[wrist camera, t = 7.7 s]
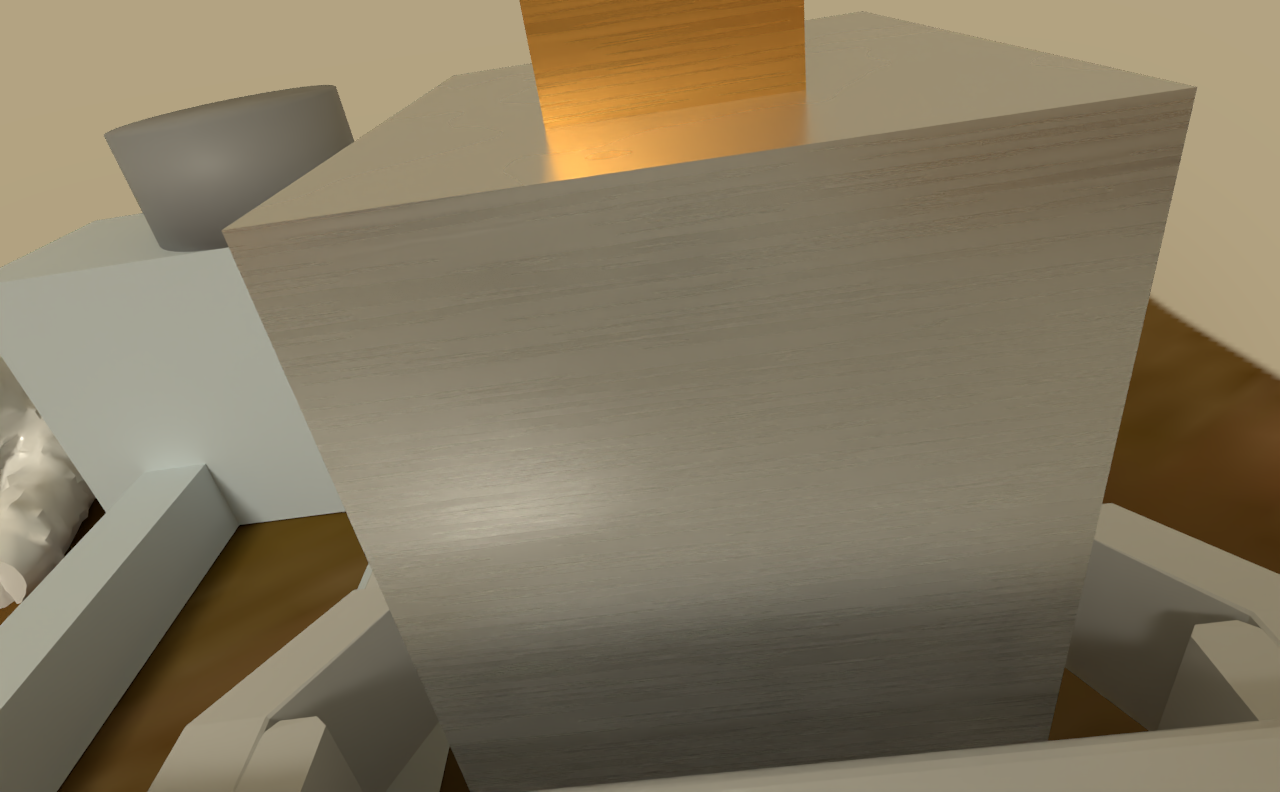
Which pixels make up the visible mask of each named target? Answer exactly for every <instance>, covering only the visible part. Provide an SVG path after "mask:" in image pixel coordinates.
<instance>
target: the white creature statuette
mask: <svg viewBox="0 0 1280 792" xmlns="http://www.w3.org/2000/svg"><path fill="white" fill-rule="evenodd" d="M95 498H96V497H95V495H94V494H93V492H92V491H91V489H90V488H89V486H88V485H87V483H86V482H85V480H84V479H83V477H82V476H81V475H80V473H79V472H78V470H77V469H76V467H75V466H74V464H73V463H72V461H71V460H70V458H69V457H68V455H67V454H66V452H65V451H64V449H63V448H62V446H61V445H60V443H59V442H58V440H57V439H56V437H55V436H54V434H53V433H52V431H51V430H50V428H49V427H48V425H47V424H46V422H45V421H44V419H43V418H42V416H41V415H40V413H39V412H38V410H37V409H36V408H35V406H34V405H33V403H32V402H31V400H30V399H29V397H28V396H27V394H26V393H25V391H24V390H23V388H22V387H21V385H20V384H19V382H18V381H17V379H16V378H15V376H14V375H13V373H12V372H11V370H10V369H9V367H8V366H7V364H6V363H5V361H4V360H3V358H2V357H1V355H0V609H1V608H4V607H6V606H8V605H9V604H11V603H12V602H14V601H15V602H16V603H17V604H19V603H22V602H23V601H24V600H25V599H26V598H27V597H28V596H29V594H30V593H31V592H32V591H33V590H34V589H35V588H36V587H37V586H38V585H39V584H40V583H41V582H42V581H43V580H44V579H45V577H46V576H47V575H48V574H49V573H50V572H51V571H52V570H53V569H54V568H55V567H56V566H57V565H58V564H59V563H60V561H61V560H62V559H63V558H64V554H65V552H66V551H67V550H68V548H69V547H70V545H71V543H72V541H73V539H74V537H75V535H76V533H77V531H78V529H79V527H80V525H81V523H82V522H83V521H84V520H85V519H86V518H87V517H88V510H89V508H90V507H91V505H92V503H93V501H94V500H95Z"/></svg>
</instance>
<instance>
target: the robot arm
mask: <svg viewBox="0 0 1280 792" xmlns="http://www.w3.org/2000/svg"><path fill="white" fill-rule="evenodd" d="M1065 668H1066V669H1068V670H1069V671H1070V672H1072V673H1073V674H1074V675H1076V676H1077V677H1078V678H1080V679H1081V680H1082V681H1084V682H1085V683H1086V684H1088V685H1089V686H1090V687H1092V688H1093V689H1094V690H1096V691H1097V692H1098V693H1100V694H1101V695H1102V696H1104V697H1105V698H1106V699H1108V700H1109V701H1110V702H1112V703H1113V704H1114V705H1115V706H1117V707H1118V708H1119V709H1121V710H1122V711H1123V712H1125V713H1126V714H1127V715H1129V716H1130V717H1131V718H1133V719H1134V720H1135V721H1137V722H1138V723H1139V724H1141V725H1142V726H1143V727H1145V728H1146V729H1147V730H1149V731H1147V732H1137V733H1126V734H1116V735H1105V736H1095V737H1085V738H1074V739H1064V740H1054V741H1043V742H1033V743H1023V744H1012V745H1002V746H992V747H981V748H971V749H961V750H950V751H940V752H930V753H919V754H909V755H899V756H888V757H878V758H867V759H857V760H847V761H836V762H826V763H816V764H805V765H795V766H785V767H775V768H764V769H754V770H744V771H733V772H723V773H713V774H702V775H692V776H682V777H671V778H661V779H651V780H640V781H630V782H620V783H609V784H599V785H589V786H578V787H568V788H558V789H547V790H537V791H527V792H1280V574H1277V573H1275V572H1273V571H1270V570H1268V569H1265V568H1263V567H1261V566H1258V565H1256V564H1254V563H1251V562H1249V561H1247V560H1244V559H1242V558H1240V557H1237V556H1235V555H1233V554H1230V553H1228V552H1226V551H1223V550H1221V549H1219V548H1216V547H1214V546H1211V545H1209V544H1207V543H1204V542H1202V541H1200V540H1197V539H1195V538H1193V537H1190V536H1188V535H1186V534H1183V533H1181V532H1179V531H1176V530H1174V529H1172V528H1169V527H1167V526H1165V525H1162V524H1160V523H1158V522H1155V521H1153V520H1150V519H1148V518H1146V517H1143V516H1141V515H1139V514H1136V513H1134V512H1132V511H1129V510H1127V509H1125V508H1122V507H1120V506H1118V505H1115V504H1113V503H1108V504H1102V506H1101V510H1100V514H1099V519H1098V523H1097V528H1096V532H1095V536H1094V541H1093V545H1092V549H1091V554H1090V558H1089V563H1088V567H1087V571H1086V576H1085V580H1084V584H1083V589H1082V593H1081V598H1080V602H1079V606H1078V611H1077V615H1076V619H1075V624H1074V628H1073V632H1072V637H1071V641H1070V646H1069V650H1068V654H1067V659H1066V663H1065ZM438 722H439V720H438V718H437V716H436V713H435V711H434V709H433V707H432V704H431V702H430V700H429V698H428V695H427V693H426V691H425V689H424V686H423V684H422V682H421V680H420V677H419V675H418V673H417V671H416V668H415V666H414V664H413V662H412V659H411V657H410V655H409V653H408V650H407V648H406V646H405V643H404V641H403V639H402V637H401V634H400V632H399V630H398V628H397V625H396V623H395V621H394V619H393V616H392V614H391V612H390V610H389V607H388V605H387V603H386V601H385V598H384V596H383V594H382V592H381V589H380V587H379V585H378V583H377V580H376V578H375V576H374V574H373V571H372V573H371V575H370V577H369V580H368V582H367V585H366V587H365V589H359V590H353V591H352V592H351V593H349V594H348V595H347V596H346V597H345V598H343V599H342V600H341V601H340V602H338V603H337V604H336V605H335V606H333V607H332V608H331V609H330V610H329V611H327V612H326V613H325V614H324V615H322V616H321V617H320V618H319V619H317V620H316V621H315V622H314V623H312V624H311V625H310V626H309V627H308V628H306V629H305V630H304V631H303V632H301V633H300V634H299V635H298V636H296V637H295V638H294V639H293V640H292V641H290V642H289V643H288V644H287V645H285V646H284V647H283V648H282V649H280V650H279V651H278V652H277V653H276V654H274V655H273V656H272V657H271V658H269V659H268V660H267V661H266V662H264V663H263V664H262V665H261V666H260V667H258V668H257V669H256V670H255V671H253V672H252V673H251V674H250V675H248V676H247V677H246V678H245V679H244V680H242V681H241V682H240V683H239V684H237V685H236V686H235V687H234V688H232V689H231V690H230V691H229V692H227V693H226V694H225V695H224V696H223V697H221V698H220V699H219V700H218V701H216V702H215V703H214V704H213V705H211V706H210V707H209V708H208V709H207V710H205V711H204V712H203V713H202V714H200V715H199V716H198V717H197V718H195V719H194V720H193V721H192V722H191V723H189V724H188V725H187V726H186V727H185V728H184V730H183V732H182V733H181V735H180V737H179V738H178V740H177V742H176V744H175V745H174V747H173V749H172V751H171V752H170V754H169V756H168V757H167V759H166V761H165V763H164V764H163V766H162V768H161V769H160V771H159V773H158V775H157V776H156V778H155V780H154V782H153V783H152V785H151V787H150V788H149V790H148V792H386V791H387V789H388V788H389V787H390V785H391V784H392V783H393V781H394V780H395V779H396V777H397V776H398V775H399V773H400V772H401V771H402V770H403V768H404V767H405V766H406V764H407V763H408V762H409V760H410V759H411V758H412V756H413V755H414V754H415V752H416V751H417V750H418V749H419V747H420V746H421V745H422V743H423V742H424V741H425V739H426V738H427V737H428V735H429V734H430V733H431V731H432V730H433V729H434V728H435V726H436V725H437V724H438Z"/></svg>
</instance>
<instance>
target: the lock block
mask: <svg viewBox="0 0 1280 792" xmlns="http://www.w3.org/2000/svg"><path fill="white" fill-rule="evenodd" d="M520 5H521V10H522V15H523V20H524V25H525V30H526V35H527V39H528V45H529V50H530V55H531V60H532V63H531V64H524V65H518V66H512V67H505V68H499V69H493V70H487V71H480V72H474V73H467V74H461V75H454V76H452V77H450V78H449V79H447V80H446V81H444V82H443V83H441V84H440V85H438V86H437V87H435V88H434V89H432V90H431V91H429V92H428V93H426V94H425V95H423V96H422V97H420V98H419V99H417V100H416V101H414V102H413V103H411V104H410V105H408V106H407V107H405V108H404V109H402V110H401V111H399V112H398V113H396V114H395V115H393V116H392V117H390V118H389V119H387V120H386V121H384V122H383V123H381V124H380V125H379V126H377V127H375V128H374V129H372V130H371V131H370V132H368V133H367V134H365V135H363V136H362V137H360V138H359V139H358V140H356V141H354V142H353V143H351V144H350V145H348V146H347V147H345V148H344V149H342V150H341V151H340V152H338V153H337V154H335V155H334V156H332V157H331V158H329V159H328V160H326V161H325V162H323V163H322V164H320V165H319V166H317V167H316V168H314V169H313V170H311V171H310V172H308V173H307V174H305V175H304V176H302V177H301V178H299V179H298V180H296V181H295V182H293V183H292V184H290V185H289V186H287V187H286V188H284V189H283V190H281V191H280V192H278V193H277V194H275V195H274V196H272V197H271V198H269V199H268V200H266V201H265V202H263V203H262V204H260V205H259V206H257V207H256V208H254V209H253V210H251V211H250V212H248V213H247V214H245V215H244V216H242V217H241V218H239V219H238V220H236V221H235V222H233V223H232V224H230V225H229V226H227V227H226V228H224V229H223V230H221V231H222V233H223V235H224V238H225V240H226V242H227V244H228V247H229V249H230V251H231V253H232V256H233V258H234V260H235V262H236V265H237V267H238V269H239V271H240V274H241V276H242V278H243V280H244V283H245V285H246V287H247V289H248V292H249V294H250V296H251V298H252V301H253V303H254V305H255V307H256V310H257V312H258V314H259V316H260V319H261V321H262V323H263V325H264V328H265V330H266V332H267V335H268V337H269V339H270V341H271V344H272V346H273V348H274V350H275V353H276V355H277V357H278V359H279V362H280V364H281V366H282V368H283V371H284V373H285V375H286V377H287V380H288V382H289V384H290V386H291V389H292V391H293V393H294V395H295V398H296V400H297V402H298V404H299V407H300V409H301V411H302V413H303V416H304V418H305V420H306V422H307V425H308V427H309V429H310V431H311V434H312V436H313V438H314V441H315V443H316V445H317V447H318V450H319V452H320V454H321V456H322V459H323V461H324V463H325V465H326V468H327V470H328V472H329V474H330V477H331V479H332V481H333V483H334V486H335V488H336V490H337V492H338V495H339V497H340V499H341V501H342V504H343V506H344V508H345V510H346V513H347V515H348V517H349V519H350V522H351V524H352V526H353V528H354V531H355V533H356V535H357V537H358V540H359V542H360V544H361V547H362V549H363V551H364V553H365V556H366V558H367V560H368V562H369V565H370V567H371V569H372V571H373V574H374V576H375V578H376V580H377V583H378V585H379V587H380V589H381V592H382V594H383V596H384V598H385V601H386V603H387V605H388V607H389V610H390V612H391V614H392V616H393V619H394V621H395V623H396V625H397V628H398V630H399V632H400V634H401V637H402V639H403V641H404V643H405V646H406V648H407V650H408V653H409V655H410V657H411V659H412V662H413V664H414V666H415V668H416V671H417V673H418V675H419V677H420V680H421V682H422V684H423V686H424V689H425V691H426V693H427V695H428V698H429V700H430V702H431V704H432V707H433V709H434V711H435V713H436V716H437V718H438V720H439V722H440V725H441V727H442V729H443V731H444V734H445V736H446V738H447V740H448V743H449V745H450V747H451V749H452V752H453V754H454V756H455V759H456V761H457V763H458V765H459V768H460V770H461V772H462V774H463V777H464V779H465V781H466V783H467V786H468V788H469V790H470V792H527V791H537V790H547V789H558V788H568V787H578V786H589V785H599V784H609V783H620V782H630V781H640V780H651V779H661V778H671V777H682V776H692V775H702V774H713V773H723V772H733V771H744V770H754V769H764V768H775V767H785V766H795V765H805V764H816V763H826V762H836V761H847V760H857V759H867V758H878V757H888V756H899V755H909V754H919V753H930V752H940V751H950V750H961V749H971V748H981V747H992V746H1002V745H1012V744H1023V743H1033V742H1043V741H1048V737H1049V733H1050V729H1051V724H1052V720H1053V716H1054V711H1055V707H1056V702H1057V698H1058V694H1059V689H1060V685H1061V681H1062V676H1063V672H1064V667H1065V663H1066V659H1067V654H1068V650H1069V646H1070V641H1071V637H1072V632H1073V628H1074V624H1075V619H1076V615H1077V611H1078V606H1079V602H1080V598H1081V593H1082V589H1083V584H1084V580H1085V576H1086V571H1087V567H1088V563H1089V558H1090V554H1091V549H1092V545H1093V541H1094V536H1095V532H1096V528H1097V523H1098V519H1099V514H1100V510H1101V506H1102V501H1103V497H1104V493H1105V488H1106V484H1107V479H1108V475H1109V471H1110V466H1111V462H1112V458H1113V453H1114V449H1115V444H1116V440H1117V436H1118V431H1119V427H1120V423H1121V418H1122V414H1123V409H1124V405H1125V401H1126V396H1127V392H1128V388H1129V383H1130V379H1131V374H1132V370H1133V366H1134V361H1135V357H1136V353H1137V348H1138V344H1139V340H1140V335H1141V331H1142V326H1143V322H1144V318H1145V313H1146V309H1147V305H1148V300H1149V296H1150V291H1151V287H1152V283H1153V278H1154V274H1155V269H1156V265H1157V261H1158V256H1159V252H1160V248H1161V243H1162V239H1163V235H1164V230H1165V225H1166V221H1167V217H1168V213H1169V208H1170V204H1171V200H1172V195H1173V191H1174V186H1175V182H1176V178H1177V173H1178V169H1179V164H1180V160H1181V156H1182V151H1183V147H1184V143H1185V138H1186V133H1187V130H1188V125H1189V121H1190V116H1191V112H1192V108H1193V103H1194V99H1195V95H1196V90H1197V87H1194V86H1191V85H1186V84H1181V83H1177V82H1173V81H1168V80H1164V79H1160V78H1155V77H1150V76H1146V75H1142V74H1138V73H1133V72H1129V71H1124V70H1120V69H1115V68H1111V67H1107V66H1102V65H1098V64H1093V63H1089V62H1084V61H1080V60H1075V59H1071V58H1067V57H1062V56H1058V55H1054V54H1049V53H1044V52H1040V51H1036V50H1031V49H1027V48H1023V47H1018V46H1014V45H1009V44H1005V43H1001V42H996V41H991V40H987V39H983V38H978V37H974V36H970V35H965V34H961V33H956V32H951V31H948V30H943V29H938V28H934V27H930V26H925V25H921V24H916V23H912V22H908V21H903V20H899V19H895V18H890V17H885V16H881V15H877V14H872V13H868V12H863V11H862V12H856V13H849V14H843V15H837V16H830V17H824V18H817V19H811V20H804V0H520Z"/></svg>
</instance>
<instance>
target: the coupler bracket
mask: <svg viewBox="0 0 1280 792" xmlns="http://www.w3.org/2000/svg"><path fill="white" fill-rule="evenodd" d="M104 136H105V139H106V141H107V143H108V145H109V147H110V149H111V150H112V153H113V155H114V156H115V158H116V161H117V163H118V165H119V167H120V168H121V170H122V172H123V174H124V176H125V178H126V180H127V182H128V184H129V186H130V188H131V190H132V192H133V194H134V196H135V198H136V200H137V202H138V204H139V206H140V208H141V210H142V212H143V213H141V214H134V215H128V216H122V217H115V218H110V219H103V220H97V221H93V222H91V223H89V224H87V225H85V226H83V227H81V228H79V229H77V230H75V231H73V232H71V233H69V234H67V235H65V236H63V237H61V238H59V239H57V240H55V241H53V242H51V243H49V244H47V245H45V246H43V247H41V248H39V249H37V250H35V251H33V252H31V253H29V254H27V255H25V256H23V257H21V258H19V259H17V260H15V261H13V262H11V263H8V264H7V265H4V266H2V267H1V268H0V355H1V357H2V358H3V360H4V361H5V363H6V364H7V366H8V367H9V369H10V370H11V372H12V373H13V375H14V376H15V378H16V379H17V381H18V382H19V384H20V385H21V387H22V388H23V390H24V391H25V393H26V394H27V396H28V397H29V399H30V400H31V402H32V403H33V405H34V406H35V408H36V409H37V410H38V412H39V413H40V415H41V416H42V418H43V419H44V421H45V422H46V424H47V425H48V427H49V428H50V430H51V431H52V433H53V434H54V436H55V437H56V439H57V440H58V442H59V443H60V445H61V446H62V448H63V449H64V451H65V452H66V454H67V455H68V457H69V458H70V460H71V461H72V463H73V464H74V466H75V467H76V469H77V470H78V472H79V473H80V475H81V476H82V477H83V479H84V480H85V482H86V483H87V485H88V486H89V488H90V489H91V491H92V492H93V494H94V495H95V497H96V498H97V500H98V501H99V503H100V504H101V506H102V507H103V509H104V510H105V512H106V514H105V515H104V516H103V517H102V518H101V519H100V520H99V521H98V522H97V523H96V524H95V525H94V526H93V527H92V528H91V529H90V531H89V532H88V533H87V534H86V535H85V536H84V537H83V538H82V539H81V540H80V541H79V542H78V543H77V544H76V545H75V547H74V548H73V549H72V550H71V551H70V552H69V553H68V554H67V555H66V556H65V557H64V558H63V559H62V560H61V561H60V563H59V564H58V565H57V566H56V567H55V568H54V569H53V570H52V571H51V572H50V573H49V574H48V575H47V576H46V577H45V579H44V580H43V581H42V582H41V583H40V584H39V585H38V586H37V587H36V588H35V589H34V590H33V591H32V592H31V593H30V594H29V596H28V597H27V598H26V599H25V600H24V601H23V602H22V603H21V604H20V605H19V606H18V607H17V608H16V609H15V610H14V612H13V613H12V614H11V615H10V616H9V617H8V618H7V619H6V620H5V621H4V622H3V623H2V624H1V625H0V792H57V791H58V789H59V788H60V786H61V785H62V783H63V782H64V781H65V779H66V778H67V776H68V775H69V773H70V772H71V770H72V769H73V767H74V766H75V764H76V763H77V762H78V760H79V759H80V757H81V756H82V754H83V753H84V751H85V750H86V748H87V747H88V745H89V744H90V743H91V741H92V740H93V738H94V737H95V735H96V734H97V732H98V731H99V729H100V728H101V726H102V725H103V724H104V722H105V721H106V719H107V718H108V716H109V715H110V713H111V712H112V710H113V709H114V707H115V706H116V705H117V703H118V702H119V700H120V699H121V697H122V696H123V694H124V693H125V691H126V690H127V688H128V687H129V686H130V684H131V683H132V681H133V680H134V678H135V677H136V675H137V674H138V672H139V671H140V669H141V668H142V667H143V665H144V664H145V662H146V661H147V659H148V658H149V656H150V655H151V653H152V652H153V650H154V649H155V648H156V646H157V645H158V643H159V642H160V640H161V639H162V637H163V636H164V634H165V633H166V631H167V630H168V629H169V627H170V626H171V624H172V623H173V621H174V620H175V618H176V617H177V615H178V614H179V613H180V611H181V610H182V608H183V607H184V605H185V604H186V602H187V601H188V599H189V598H190V596H191V595H192V594H193V592H194V591H195V589H196V588H197V586H198V585H199V583H200V582H201V580H202V579H203V577H204V576H205V575H206V573H207V572H208V570H209V569H210V567H211V566H212V564H213V563H214V561H215V560H216V558H217V557H218V556H219V554H220V553H221V551H222V550H223V548H224V547H225V545H226V544H227V542H228V541H229V539H230V538H231V537H232V535H233V534H234V532H235V531H236V529H237V528H238V526H239V525H243V524H251V523H258V522H266V521H274V520H282V519H290V518H297V517H305V516H313V515H321V514H329V513H336V512H344V511H346V510H345V508H344V506H343V504H342V501H341V499H340V497H339V495H338V492H337V490H336V488H335V486H334V483H333V481H332V479H331V477H330V474H329V472H328V470H327V468H326V465H325V463H324V461H323V459H322V456H321V454H320V452H319V450H318V447H317V445H316V443H315V441H314V438H313V436H312V434H311V431H310V429H309V427H308V425H307V422H306V420H305V418H304V416H303V413H302V411H301V409H300V407H299V404H298V402H297V400H296V398H295V395H294V393H293V391H292V389H291V386H290V384H289V382H288V380H287V377H286V375H285V373H284V371H283V368H282V366H281V364H280V362H279V359H278V357H277V355H276V353H275V350H274V348H273V346H272V344H271V341H270V339H269V337H268V335H267V332H266V330H265V328H264V325H263V323H262V321H261V319H260V316H259V314H258V312H257V310H256V307H255V305H254V303H253V301H252V298H251V296H250V294H249V292H248V289H247V287H246V285H245V283H244V280H243V278H242V276H241V274H240V271H239V269H238V267H237V265H236V262H235V260H234V258H233V256H232V253H231V251H230V249H229V247H228V244H227V242H226V240H225V238H224V235H223V233H222V231H221V230H223V229H224V228H226V227H227V226H229V225H230V224H232V223H233V222H235V221H236V220H238V219H239V218H241V217H242V216H244V215H245V214H247V213H248V212H250V211H251V210H253V209H254V208H256V207H257V206H259V205H260V204H262V203H263V202H265V201H266V200H268V199H269V198H271V197H272V196H274V195H275V194H277V193H278V192H280V191H281V190H283V189H284V188H286V187H287V186H289V185H290V184H292V183H293V182H295V181H296V180H298V179H299V178H301V177H302V176H304V175H305V174H307V173H308V172H310V171H311V170H313V169H314V168H316V167H317V166H319V165H320V164H322V163H323V162H325V161H326V160H328V159H329V158H331V157H332V156H334V155H335V154H337V153H338V152H340V151H341V150H342V149H344V148H345V147H347V146H348V145H350V144H351V143H353V142H354V139H353V137H352V133H351V130H350V127H349V125H348V122H347V119H346V116H345V113H344V110H343V107H342V104H341V101H340V98H339V95H338V92H337V89H336V86H333V85H319V86H308V87H300V88H292V89H285V90H279V91H273V92H267V93H261V94H256V95H250V96H245V97H239V98H234V99H229V100H225V101H220V102H215V103H210V104H205V105H201V106H197V107H192V108H188V109H184V110H179V111H175V112H171V113H167V114H163V115H159V116H156V117H152V118H148V119H145V120H141V121H138V122H134V123H131V124H128V125H125V126H122V127H119V128H116V129H114V130H111V131H109V132H107V133H105V134H104ZM371 573H372V569H371V567H370V565H369V564H368V566H367V568H366V571H365V573H364V575H363V578H362V580H361V582H360V585H359V587H358V589H357V590H359V589H365V587H366V585H367V582H368V580H369V577H370V575H371ZM449 747H450V745H449V743H448V740H447V738H446V736H445V734H444V731H443V729H442V727H441V725H440V722H438V724H437V725H436V726H435V728H434V729H433V730H432V731H431V733H430V734H429V735H428V737H427V738H426V739H425V741H424V742H423V743H422V745H421V746H420V747H419V749H418V750H417V751H416V752H415V754H414V755H413V756H412V758H411V759H410V760H409V762H408V763H407V764H406V766H405V767H404V768H403V770H402V771H401V772H400V773H399V775H398V776H397V777H396V779H395V780H394V781H393V783H392V784H391V785H390V787H389V788H388V789H387V791H386V792H439V791H440V787H441V782H442V778H443V774H444V769H445V765H446V760H447V756H448V751H449Z"/></svg>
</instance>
